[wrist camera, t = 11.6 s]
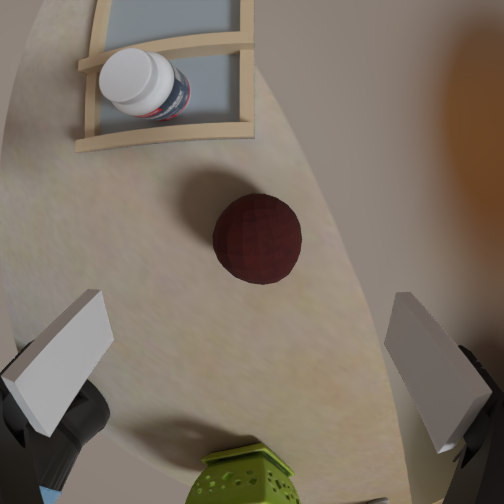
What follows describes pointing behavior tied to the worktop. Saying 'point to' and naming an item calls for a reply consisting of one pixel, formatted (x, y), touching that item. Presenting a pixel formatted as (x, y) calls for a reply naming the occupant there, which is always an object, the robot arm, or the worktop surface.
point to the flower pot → (244, 478)
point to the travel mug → (379, 501)
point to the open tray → (185, 60)
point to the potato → (258, 239)
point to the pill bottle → (144, 85)
